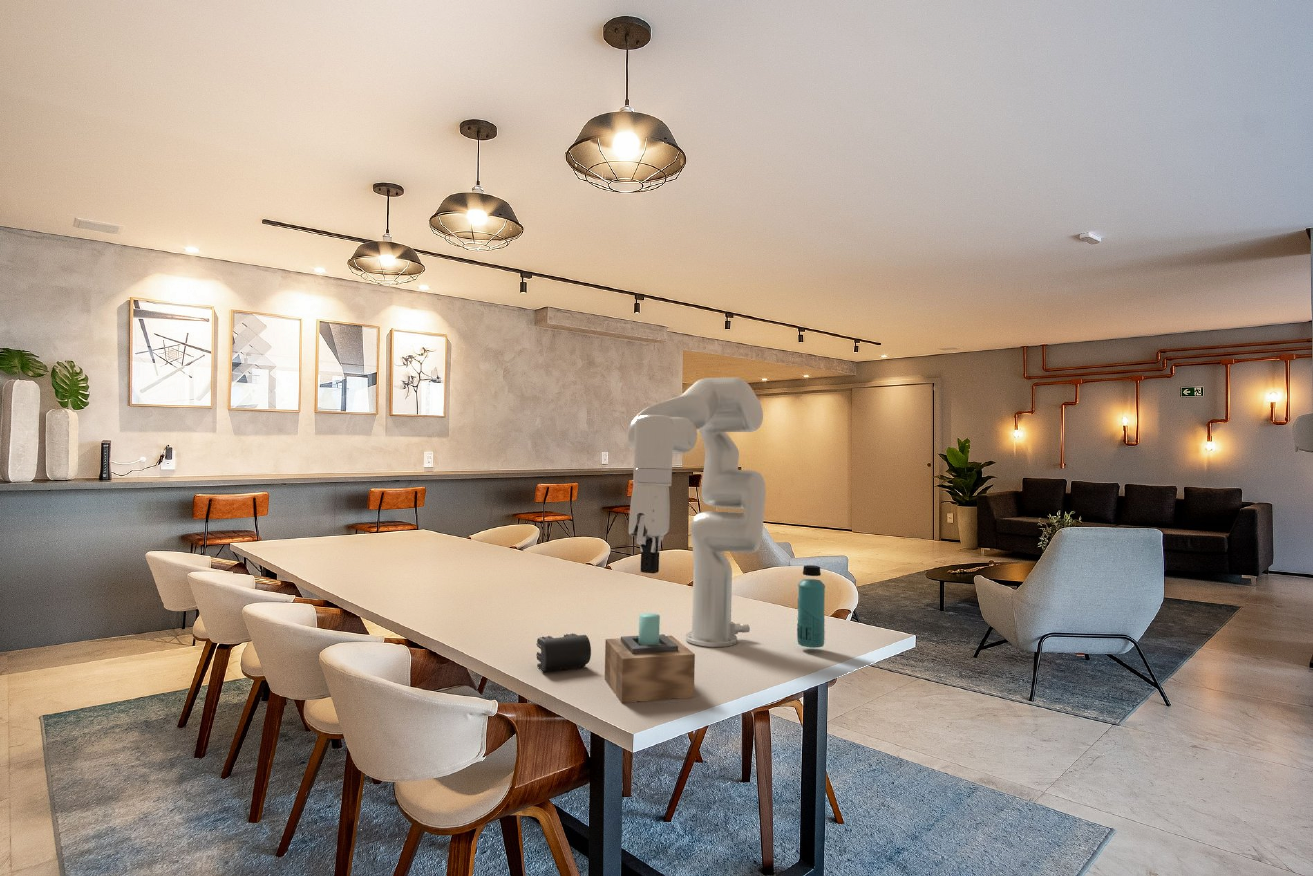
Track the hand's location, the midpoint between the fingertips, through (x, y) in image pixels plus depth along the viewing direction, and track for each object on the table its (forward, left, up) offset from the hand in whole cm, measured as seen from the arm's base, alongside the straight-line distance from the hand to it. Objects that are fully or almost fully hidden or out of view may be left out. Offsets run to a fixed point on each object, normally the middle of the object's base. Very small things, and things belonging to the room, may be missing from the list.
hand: (649, 572), depth 137 cm
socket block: (0, 0, -22) cm, 22 cm away
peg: (0, 0, -17) cm, 17 cm away
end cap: (+14, -16, -23) cm, 31 cm away
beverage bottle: (-45, -17, -23) cm, 54 cm away
